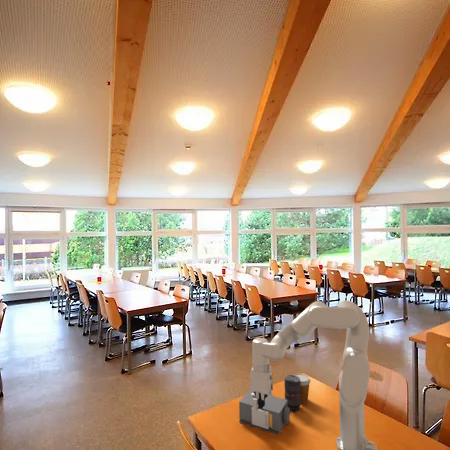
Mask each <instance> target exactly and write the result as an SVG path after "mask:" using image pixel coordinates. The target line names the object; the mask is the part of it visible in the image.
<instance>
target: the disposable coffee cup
mask: <svg viewBox="0 0 450 450" xmlns="http://www.w3.org/2000/svg"><path fill="white" fill-rule="evenodd" d="M293 375H294V376H297V377H299V378H300V381H301V390H300V398H301V402H300V404H306V403H308V402H309V401H308V400H309V391H310V383H311V378H310V376H308V375H307V374H304V373H296V374H293Z"/></svg>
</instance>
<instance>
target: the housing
mask: <svg viewBox="0 0 450 450" xmlns="http://www.w3.org/2000/svg"><path fill="white" fill-rule="evenodd" d="M261 396H262V393H261ZM253 398H255V399H257V398H256V395H255V394H254V393H252V392H251V391H250V389H249V390H248V391H247V392H246V393H245V395H244V396H243V397H242V398H241V399H240V400H239V402H238V403H239V404H238V405H239V407H238V408H239V414H238V415H239V419H238V420H239V423H241V424H244V425H246V426H249V427H253V428H256V429H258V430H262V431H265V432H268V433H271V434H274V435H276V436H277V435H278V436H279V434H281V432H282V431H283V429H284V426H285V425H288V424H289V422H290V419H291V418H290V417H291V411H290V408H289V407H288V400H286V399H285V398H282V397H278V396H273V395H272V397H266V398H265V406H264V407H263V408H262V409H261V408H258V409H260V410H264V411H267V412H269V429H266V428H262V427H259V426H256V425H253V424H252V407H253ZM257 407H258V399H257Z"/></svg>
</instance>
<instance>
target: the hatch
mask: <svg viewBox="0 0 450 450" xmlns="http://www.w3.org/2000/svg"><path fill="white" fill-rule="evenodd" d="M252 424H253V425H256V426H259V427H262V428H266V429H269V412H267V411H264V410H260V409H258V407H257V399H255V398H253V407H252Z"/></svg>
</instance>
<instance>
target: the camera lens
mask: <svg viewBox="0 0 450 450" xmlns="http://www.w3.org/2000/svg"><path fill="white" fill-rule="evenodd" d="M294 375H295V374H288V375H285V376H284V379H283V380H284V381H283V382H284V385H283V386H284V399H286V400H288V407H289V408H290V412H298V411H300V407H301V403H300V402H301V398H300V390H301V381H300V378H299V377H297V376H294Z"/></svg>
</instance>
